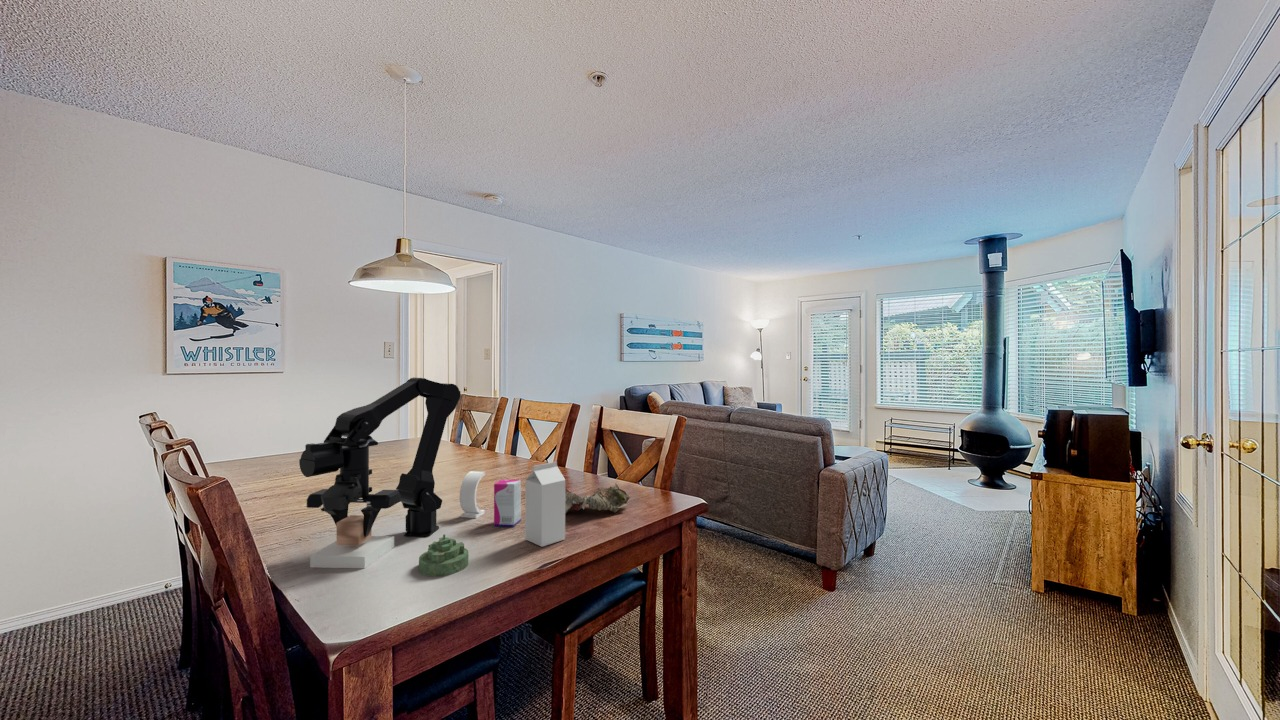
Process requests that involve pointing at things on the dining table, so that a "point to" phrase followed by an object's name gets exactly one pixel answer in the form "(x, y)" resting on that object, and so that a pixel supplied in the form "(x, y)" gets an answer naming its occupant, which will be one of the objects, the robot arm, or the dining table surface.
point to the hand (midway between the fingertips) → (354, 536)
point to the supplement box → (507, 503)
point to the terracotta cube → (351, 530)
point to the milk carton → (545, 505)
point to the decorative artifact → (443, 558)
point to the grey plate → (352, 553)
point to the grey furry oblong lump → (598, 499)
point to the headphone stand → (470, 494)
